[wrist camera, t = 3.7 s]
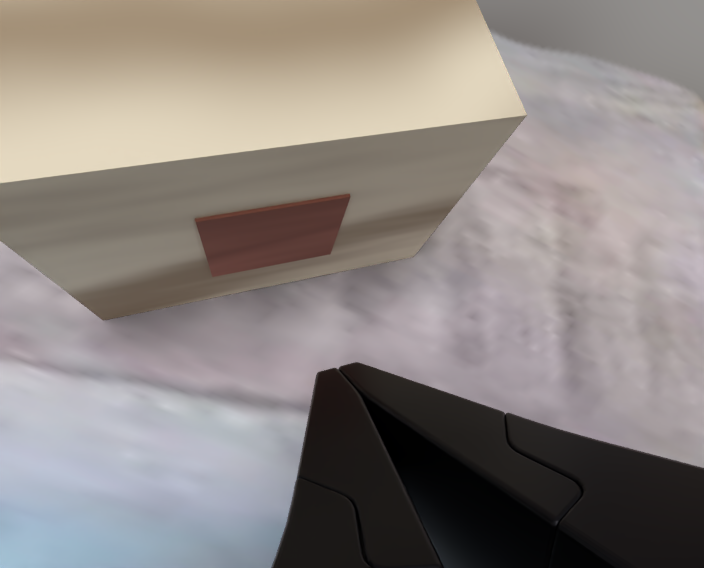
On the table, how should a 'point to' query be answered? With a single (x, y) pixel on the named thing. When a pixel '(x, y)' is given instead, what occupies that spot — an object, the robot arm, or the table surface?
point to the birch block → (237, 139)
